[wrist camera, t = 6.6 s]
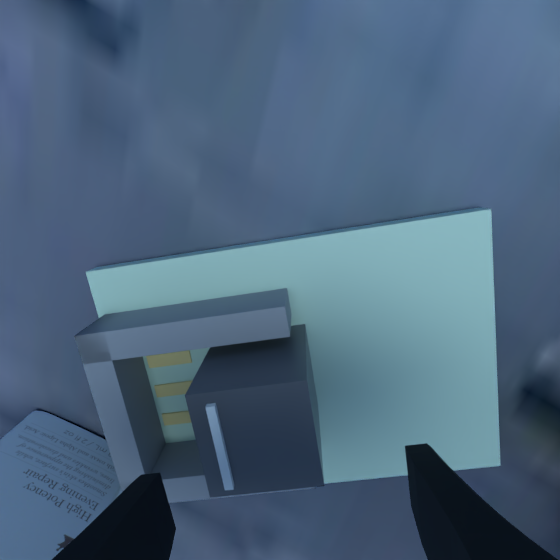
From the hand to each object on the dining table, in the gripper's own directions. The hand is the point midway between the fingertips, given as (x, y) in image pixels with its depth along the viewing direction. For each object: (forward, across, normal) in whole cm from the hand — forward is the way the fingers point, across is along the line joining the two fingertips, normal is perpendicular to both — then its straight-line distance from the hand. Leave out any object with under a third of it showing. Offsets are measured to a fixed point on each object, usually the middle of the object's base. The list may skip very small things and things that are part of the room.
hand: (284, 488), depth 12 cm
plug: (+7, +1, 0) cm, 7 cm away
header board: (+8, 0, 0) cm, 8 cm away
